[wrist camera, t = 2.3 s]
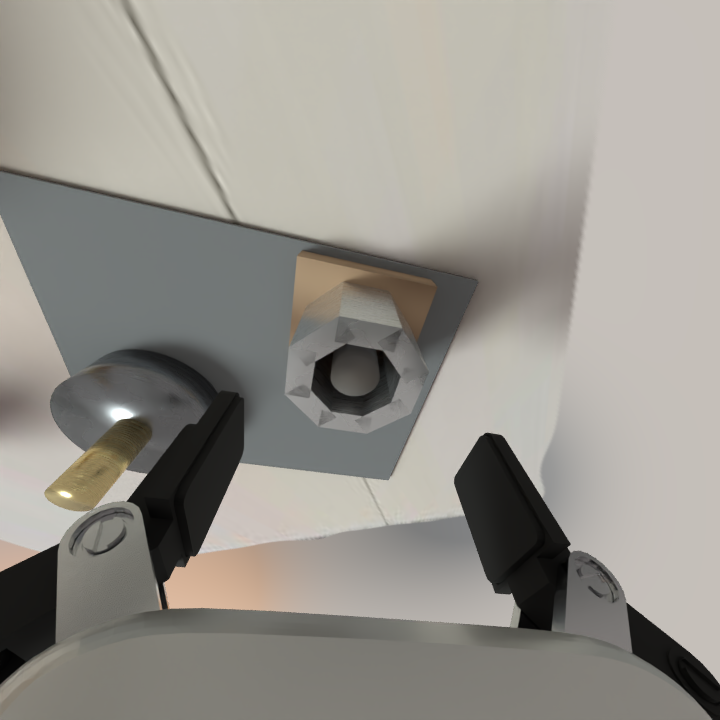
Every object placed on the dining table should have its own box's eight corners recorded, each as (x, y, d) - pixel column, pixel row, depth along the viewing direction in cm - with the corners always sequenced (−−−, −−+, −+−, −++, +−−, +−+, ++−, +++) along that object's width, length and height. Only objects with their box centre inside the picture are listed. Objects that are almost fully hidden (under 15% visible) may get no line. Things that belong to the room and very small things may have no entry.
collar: (310, 273, 15) (292, 306, 10) (419, 297, 16) (444, 336, 11) (298, 367, 18) (282, 421, 14) (389, 383, 19) (400, 438, 15)
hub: (69, 337, 18) (-100, 422, 11) (221, 362, 20) (150, 452, 13) (108, 436, 23) (9, 535, 17) (227, 451, 25) (179, 548, 18)
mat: (-11, 167, 14) (-21, 167, 13) (476, 279, 17) (478, 281, 17) (104, 442, 24) (101, 446, 24) (387, 476, 28) (388, 480, 28)
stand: (302, 250, 16) (275, 278, 10) (430, 279, 17) (465, 318, 11) (290, 362, 20) (268, 423, 14) (394, 380, 21) (408, 442, 16)
